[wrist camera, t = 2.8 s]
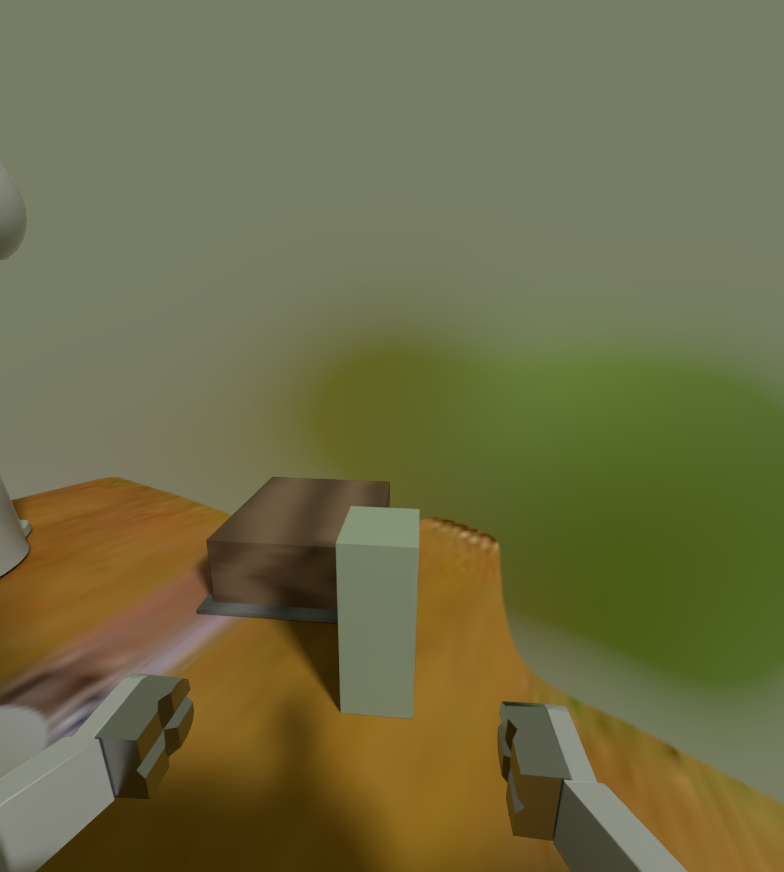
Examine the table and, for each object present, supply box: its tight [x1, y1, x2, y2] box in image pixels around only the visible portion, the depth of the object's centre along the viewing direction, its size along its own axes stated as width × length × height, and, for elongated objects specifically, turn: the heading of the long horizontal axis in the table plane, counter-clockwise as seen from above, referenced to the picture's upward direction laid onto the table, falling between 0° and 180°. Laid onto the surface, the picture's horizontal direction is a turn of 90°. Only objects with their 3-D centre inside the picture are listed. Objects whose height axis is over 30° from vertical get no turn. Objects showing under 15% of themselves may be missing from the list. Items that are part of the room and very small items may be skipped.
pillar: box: [336, 506, 419, 719], centre depth 23 cm, size 4×4×12 cm
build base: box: [197, 477, 390, 623], centre depth 37 cm, size 16×16×6 cm
